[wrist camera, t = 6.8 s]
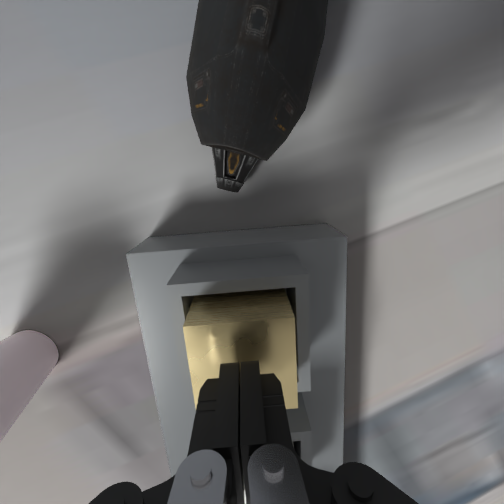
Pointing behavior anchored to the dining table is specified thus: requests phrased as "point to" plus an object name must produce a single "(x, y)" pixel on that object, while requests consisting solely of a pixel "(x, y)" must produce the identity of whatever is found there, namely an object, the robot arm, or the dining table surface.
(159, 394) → the console
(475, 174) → the dining table surface
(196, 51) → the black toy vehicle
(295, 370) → the brass metal cube
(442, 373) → the dining table surface
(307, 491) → the robot arm
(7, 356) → the smoothie
